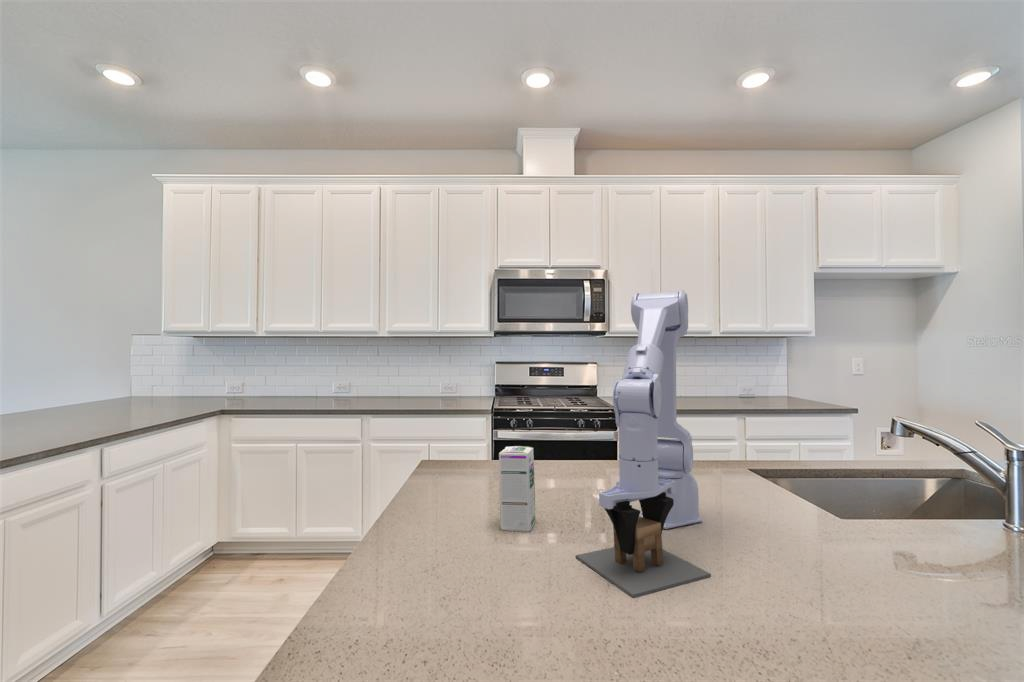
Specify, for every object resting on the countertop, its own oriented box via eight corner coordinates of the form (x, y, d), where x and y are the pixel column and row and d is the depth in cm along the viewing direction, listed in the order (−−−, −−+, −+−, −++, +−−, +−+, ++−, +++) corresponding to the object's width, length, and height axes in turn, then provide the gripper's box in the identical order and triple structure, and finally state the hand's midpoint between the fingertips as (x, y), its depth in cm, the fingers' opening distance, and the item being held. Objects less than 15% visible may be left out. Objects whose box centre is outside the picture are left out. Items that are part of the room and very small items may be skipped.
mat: (645, 542, 82) (645, 540, 82) (710, 576, 69) (710, 573, 69) (575, 557, 76) (575, 555, 76) (632, 597, 64) (632, 594, 64)
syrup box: (530, 532, 87) (530, 452, 88) (499, 530, 89) (498, 451, 89) (535, 521, 93) (534, 446, 93) (505, 520, 94) (505, 445, 95)
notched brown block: (663, 563, 72) (660, 522, 73) (639, 571, 70) (637, 529, 70) (638, 554, 76) (636, 515, 77) (615, 561, 74) (613, 521, 74)
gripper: (650, 448, 81) (651, 530, 80) (584, 458, 73) (585, 549, 72) (685, 455, 75) (687, 543, 74) (618, 467, 67) (620, 566, 66)
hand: (639, 547), depth 73 cm, fingers closed on notched brown block, 5 cm apart
